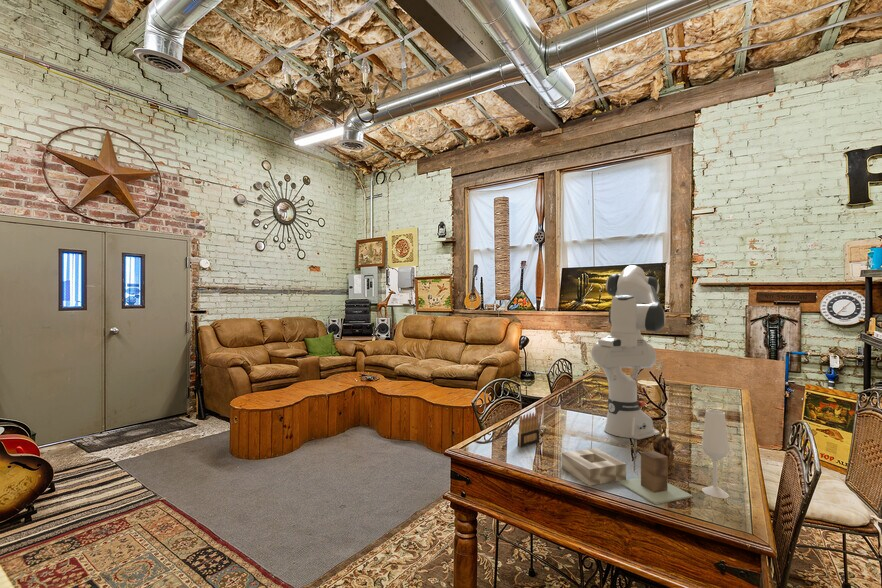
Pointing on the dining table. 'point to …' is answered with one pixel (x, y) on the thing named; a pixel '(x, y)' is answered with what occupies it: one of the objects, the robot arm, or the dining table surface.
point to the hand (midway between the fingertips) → (623, 379)
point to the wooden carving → (664, 447)
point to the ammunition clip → (528, 430)
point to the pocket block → (593, 466)
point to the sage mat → (655, 498)
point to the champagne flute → (715, 446)
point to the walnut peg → (654, 471)
